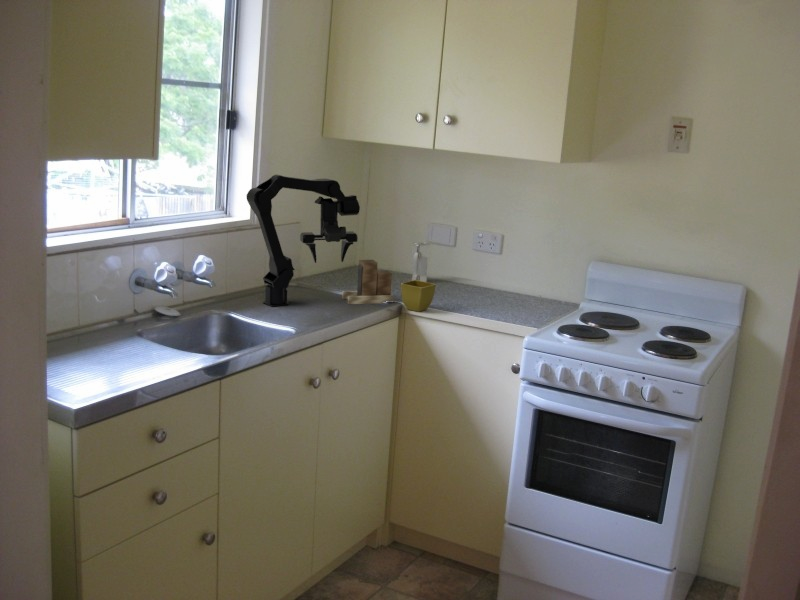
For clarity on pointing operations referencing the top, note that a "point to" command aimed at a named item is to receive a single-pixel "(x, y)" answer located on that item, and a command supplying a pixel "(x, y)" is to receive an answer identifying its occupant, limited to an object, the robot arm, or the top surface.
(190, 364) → the top surface
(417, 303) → the flower pot
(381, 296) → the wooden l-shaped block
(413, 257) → the soap dispenser bottle
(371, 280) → the finger block
